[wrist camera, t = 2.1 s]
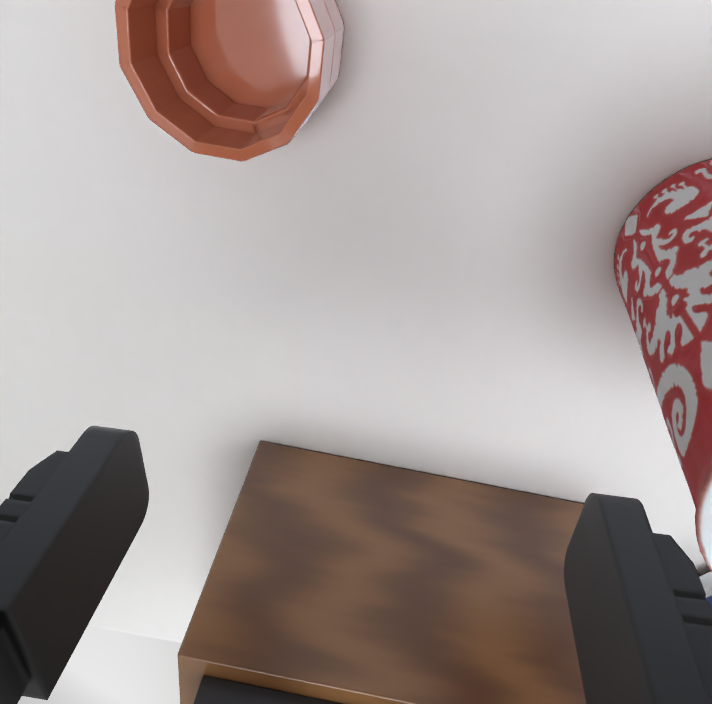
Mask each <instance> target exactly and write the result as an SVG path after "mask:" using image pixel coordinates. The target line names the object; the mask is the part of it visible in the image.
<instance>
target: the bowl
mask: <svg viewBox="0 0 712 704" xmlns="http://www.w3.org/2000/svg"><path fill="white" fill-rule="evenodd" d="M115 3H116V4H115V13H116V25H117V38H118V51H119V64H120V67H121V69H122V71H123V72H124V74H125V76H126V78H127V80H128V82H129V83H130V85H131V87H132V89H133V91H134V93H135V94H136V96H137V98H138V100H139V102H140V104H141V105H142V107H143V109H144V111H145V113H146V115H147V116H148V118H149V119H150V120H151V121H152V122H154V123H155V124H156V125H158V126H159V127H160V128H162V129H163V130H164V131H166V132H167V133H168V134H169V135H171V136H172V137H173V138H175V139H176V140H177V141H179V142H180V143H181V144H182V145H184V146H185V147H186V148H188V149H189V150H190V151H192V152H194V153H198V154H203V155H209V156H214V157H220V158H225V159H231V160H236V161H246V160H249V159H251V158H254V157H256V156H259V155H261V154H264V153H266V152H269V151H271V150H274V149H276V148H279V147H282V146H284V145H287V144H288V143H289V142H290V141H291V140H292V139H293V137H294V136H295V135H296V134H297V133H298V131H299V130H300V129H301V128H302V126H303V125H304V124H305V123H306V122H307V121H308V119H309V118H310V117H311V116H312V115H313V113H314V112H315V110H316V109H317V108H318V106H319V105H320V103H321V102H322V101H323V99H324V98H325V96H326V95H327V93H328V92H329V91H330V89H331V88H332V86H333V85H334V84H335V82H336V81H337V78H338V77H339V69H340V61H341V52H342V43H343V34H344V26H343V25H344V23H343V20H342V18H341V15H340V12H339V9H338V7H337V4H336V1H335V0H116V2H115Z"/></svg>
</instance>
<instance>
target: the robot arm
mask: <svg viewBox="0 0 712 704" xmlns="http://www.w3.org/2000/svg"><path fill="white" fill-rule="evenodd" d="M148 500H149V489H148V483H147V478H146V473H145V468H144V463H143V458H142V453H141V448H140V442H139V438H138V436H137V434H136V432H134V431H129V430H122V429H114V428H106V427H99V426H91V427H89V428H88V429H86V430H85V432H84V433H83V434H82V435H81V437H80V438H79V439H78V441H77V442H76V443H75V445H74V446H73V447H72V449H71V450H70V451H69V452H63V451H56V452H54V453H53V454H52V455H50V456H49V457H47V458H46V459H44V460H43V461H41V462H40V463H39V464H37V465H36V466H34V467H33V468H31V469H30V470H29V471H28V472H27V473H26V475H25V476H24V477H23V478H22V479H21V481H20V482H19V483H18V484H17V486H16V487H15V488H14V489H13V491H12V492H11V493H10V497H9V499H5V501H4V502H3V503H2V504H1V505H0V704H17V703H18V701H19V700H20V698H21V696H26V697H32V698H39V699H44V700H48V698H49V696H50V694H51V692H52V690H53V689H54V687H55V685H56V683H57V681H58V679H59V677H60V676H61V674H62V672H63V670H64V668H65V666H66V664H67V662H68V661H69V659H70V657H71V655H72V653H73V651H74V649H75V648H76V646H77V644H78V642H79V640H80V638H81V636H82V634H83V633H84V631H85V629H86V627H87V625H88V623H89V621H90V620H91V618H92V616H93V614H94V612H95V610H96V608H97V607H98V605H99V603H100V601H101V599H102V597H103V595H104V594H105V592H106V590H107V588H108V586H109V584H110V582H111V580H112V579H113V577H114V575H115V573H116V571H117V569H118V567H119V566H120V564H121V562H122V560H123V558H124V556H125V554H126V553H127V551H128V549H129V547H130V545H131V543H132V541H133V539H134V538H135V536H136V534H137V532H138V530H139V528H140V526H141V524H142V522H143V520H144V518H145V515H146V511H147V507H148ZM564 584H565V590H566V595H567V601H568V606H569V612H570V617H571V623H572V628H573V634H574V639H575V645H576V650H577V656H578V661H579V667H580V672H581V678H582V683H583V689H584V694H585V700H586V704H712V608H711V605H710V603H709V601H706V593H705V590H704V588H703V585H702V583H701V580H700V578H699V575H698V573H697V570H696V568H695V565H694V563H693V562H692V561H691V560H690V558H689V557H688V556H687V555H686V554H685V552H684V551H683V550H682V549H681V548H680V547H679V545H678V544H677V543H676V542H675V541H674V539H673V538H672V537H671V536H670V535H663V534H656V533H653V532H652V530H651V527H650V524H649V521H648V518H647V515H646V512H645V510H644V507H643V505H642V503H641V502H640V501H639V500H638V499H634V498H627V497H619V496H611V495H604V494H596V493H591V494H590V495H589V496H588V497H587V499H586V501H585V504H584V506H583V509H582V511H581V514H580V517H579V519H578V522H577V524H576V527H575V529H574V532H573V535H572V537H571V540H570V542H569V545H568V548H567V551H566V555H565V562H564Z"/></svg>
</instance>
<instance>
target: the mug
mask: <svg viewBox="0 0 712 704" xmlns="http://www.w3.org/2000/svg"><path fill="white" fill-rule="evenodd" d="M614 269H615V275H616V280H617V284H618V287H619V290H620V293H621V296H622V298H623V301H624V303H625V306H626V309H627V311H628V314H629V317H630V319H631V322H632V325H633V328H634V331H635V334H636V336H637V339H638V342H639V345H640V348H641V351H642V354H643V357H644V360H645V363H646V366H647V369H648V372H649V375H650V378H651V381H652V384H653V386H654V389H655V392H656V395H657V398H658V401H659V403H660V406H661V409H662V413H663V417H664V420H665V423H666V425H667V428H668V431H669V434H670V437H671V440H672V442H673V445H674V447H675V450H676V453H677V455H678V458H679V461H680V464H681V467H682V470H683V473H684V475H685V478H686V481H687V484H688V486H689V489H690V492H691V495H692V498H693V501H694V504H695V507H696V513H695V526H696V536H697V541H698V545H699V548H700V552H701V554H702V555H703V557H704V560H705V562H706V564H707V565H708V567H709V568H710V570H711V572H712V159H710V160H707V161H704V162H700V163H696V164H694V165H691V166H689V167H687V168H685V169H683V170H682V171H679V172H677V173H675V174H674V175H672V176H671V177H669V178H668V179H666V180H664V181H663V182H662V183H660V184H659V185H658V186H656V187H655V188H654V189H653V190H652V191H650V192H649V193H648V194H647V195H646V196H645V197H644V198H643V199H642V201H641V202H640V203H639V204H638V205H637V206H636V207H635V209H634V210H633V212H632V213H631V214H630V215H629V217H628V218H627V220H626V222H625V224H624V226H623V228H622V230H621V233H620V235H619V238H618V241H617V244H616V249H615V256H614Z"/></svg>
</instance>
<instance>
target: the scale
mask: <svg viewBox="0 0 712 704" xmlns="http://www.w3.org/2000/svg"><path fill="white" fill-rule="evenodd" d="M193 704H341V703H336V702H331V701H326V700H322V699H317V698H312V697H307V696H302V695H297V694H292V693H288V692H283V691H278V690H273V689H268V688H263V687H258V686H254V685H249V684H244V683H239V682H234V681H229V680H224V679H220V678H215V677H210V676H205V675H203V677H202V679H201V682H200V685H199V688H198V691H197V694H196V697H195V700H194V703H193Z"/></svg>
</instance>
